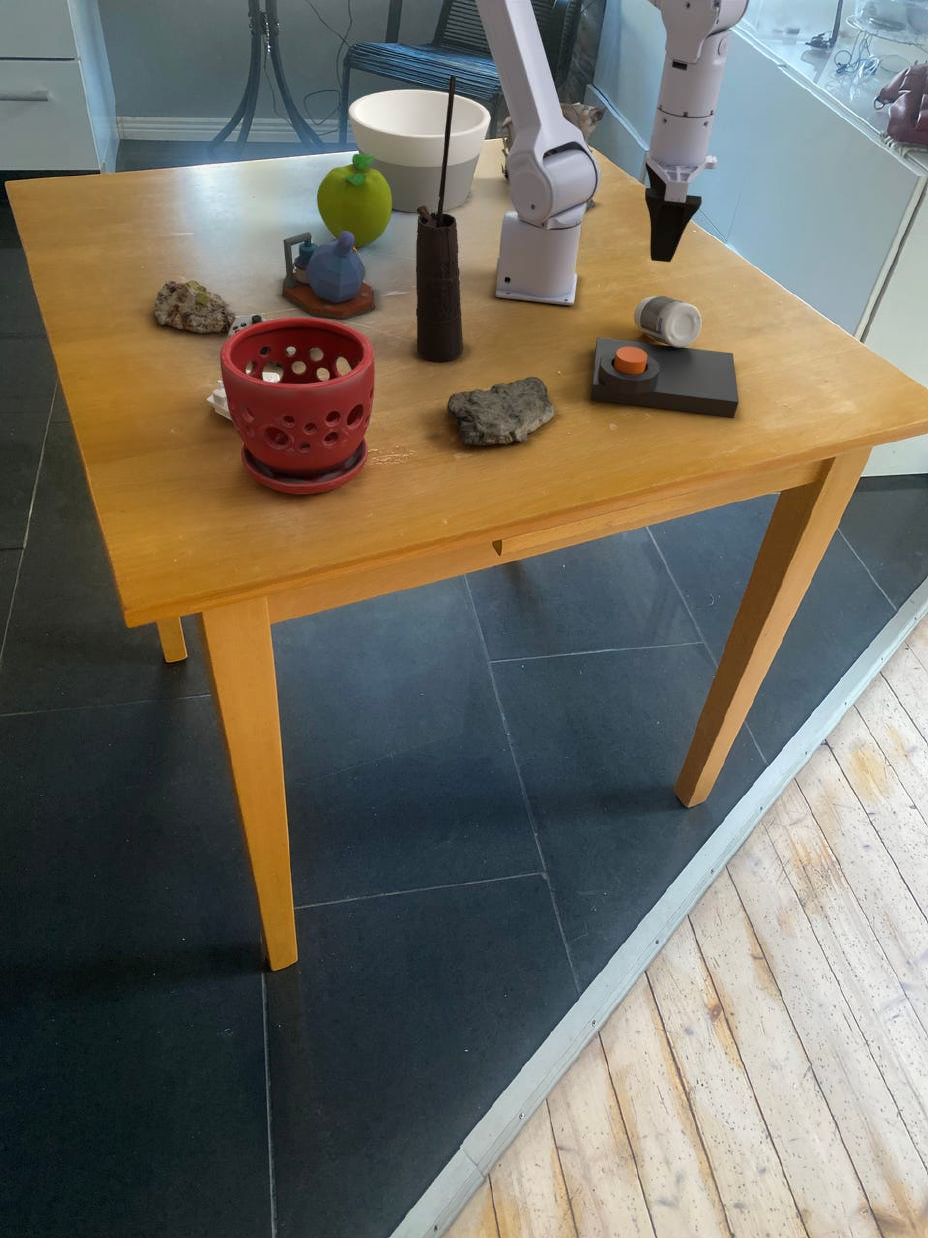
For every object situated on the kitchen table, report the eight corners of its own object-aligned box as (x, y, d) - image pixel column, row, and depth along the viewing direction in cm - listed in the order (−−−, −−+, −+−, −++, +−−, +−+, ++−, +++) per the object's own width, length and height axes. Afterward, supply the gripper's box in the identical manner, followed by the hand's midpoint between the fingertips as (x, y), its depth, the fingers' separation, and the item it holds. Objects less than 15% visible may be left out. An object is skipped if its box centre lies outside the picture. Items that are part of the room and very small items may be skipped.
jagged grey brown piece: (598, 203, 136) (613, 104, 127) (583, 212, 134) (597, 111, 125) (511, 175, 142) (520, 78, 133) (495, 183, 140) (502, 85, 130)
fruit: (398, 231, 126) (398, 152, 119) (381, 261, 120) (380, 179, 112) (331, 222, 127) (328, 143, 120) (311, 252, 120) (306, 170, 113)
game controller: (325, 335, 104) (305, 316, 98) (312, 383, 104) (292, 367, 98) (246, 317, 106) (222, 298, 100) (233, 364, 106) (209, 347, 100)
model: (390, 303, 112) (390, 224, 105) (327, 326, 107) (323, 246, 101) (329, 265, 118) (325, 189, 111) (266, 286, 113) (259, 208, 107)
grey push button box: (589, 405, 99) (594, 375, 96) (594, 352, 106) (599, 323, 104) (734, 423, 98) (743, 393, 95) (728, 368, 106) (736, 339, 103)
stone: (529, 385, 101) (532, 361, 99) (578, 426, 96) (582, 402, 94) (416, 422, 95) (416, 397, 93) (461, 468, 90) (463, 442, 88)
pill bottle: (695, 294, 101) (659, 284, 108) (657, 317, 101) (624, 305, 108) (708, 334, 104) (673, 322, 111) (672, 356, 104) (638, 342, 111)
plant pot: (402, 477, 88) (403, 362, 80) (275, 524, 83) (262, 406, 74) (332, 409, 96) (326, 297, 87) (211, 449, 90) (192, 333, 81)
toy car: (202, 414, 94) (195, 377, 91) (261, 382, 99) (257, 345, 96) (235, 432, 92) (230, 395, 89) (294, 399, 97) (291, 362, 94)
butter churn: (378, 332, 107) (374, 53, 87) (457, 321, 110) (471, 48, 90) (404, 373, 101) (406, 84, 81) (487, 360, 104) (508, 77, 84)
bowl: (334, 173, 139) (330, 93, 131) (456, 162, 145) (459, 84, 137) (375, 227, 127) (374, 142, 119) (506, 212, 132) (513, 130, 125)
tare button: (613, 373, 97) (615, 360, 96) (614, 358, 100) (616, 344, 99) (644, 377, 97) (647, 364, 96) (644, 361, 99) (647, 348, 98)
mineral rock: (128, 297, 105) (179, 255, 108) (143, 327, 109) (191, 286, 112) (197, 332, 101) (248, 288, 104) (210, 362, 105) (258, 319, 108)
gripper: (731, 136, 88) (700, 277, 97) (723, 90, 98) (695, 222, 108) (655, 129, 88) (631, 270, 98) (654, 84, 99) (633, 216, 108)
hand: (660, 245), depth 103 cm, fingers open, 7 cm apart
